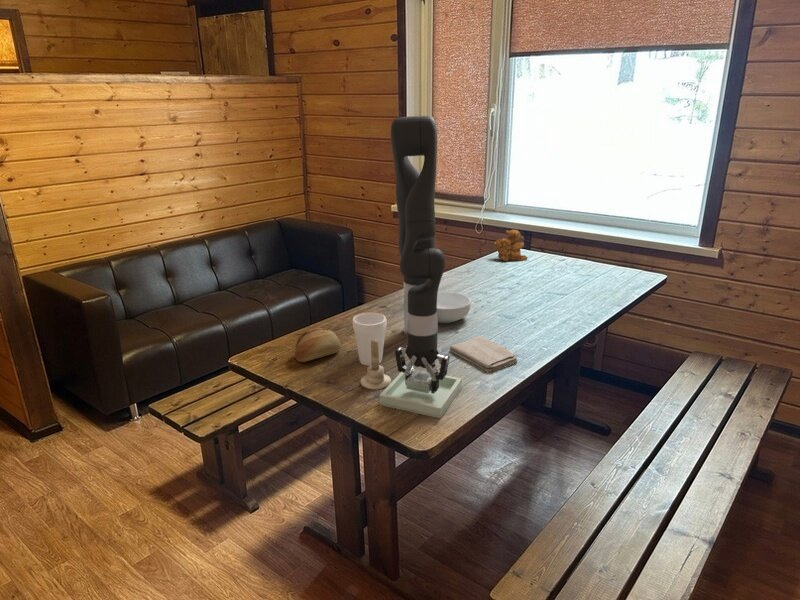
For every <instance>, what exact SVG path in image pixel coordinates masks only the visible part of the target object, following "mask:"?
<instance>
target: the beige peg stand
mask: <svg viewBox="0 0 800 600" xmlns="http://www.w3.org/2000/svg"><path fill="white" fill-rule="evenodd" d="M371 362H372V365H371V366H368V367H367V368H366V371H367V372H366V374H365V375H364V376H362V377H361V379H360V385H361V386H362V387H363V388H365V389H368V390H374V391H376V390H382V389H386V388H387V387H388V386H389V385H390V383H391V382H392V378H391V377H390V376H389V375H387V374H385V368H384V366H383V365H380V363H379V341H378V340H371Z"/></svg>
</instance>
